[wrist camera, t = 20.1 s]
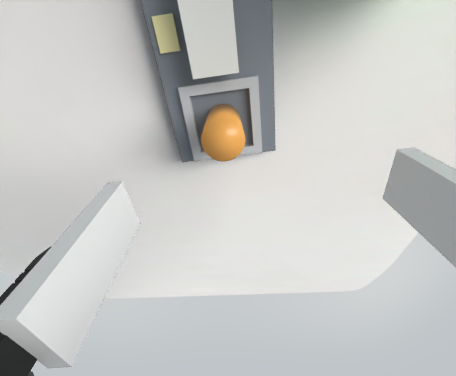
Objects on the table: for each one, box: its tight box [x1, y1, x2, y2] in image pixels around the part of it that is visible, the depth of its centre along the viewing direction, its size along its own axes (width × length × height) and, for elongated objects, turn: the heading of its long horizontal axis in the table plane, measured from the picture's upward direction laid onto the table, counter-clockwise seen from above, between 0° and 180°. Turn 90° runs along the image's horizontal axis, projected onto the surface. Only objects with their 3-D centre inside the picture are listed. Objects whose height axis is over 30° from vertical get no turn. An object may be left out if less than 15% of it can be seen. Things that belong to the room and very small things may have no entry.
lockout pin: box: [201, 104, 245, 161], centre depth 23 cm, size 4×4×7 cm
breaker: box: [177, 0, 239, 79], centre depth 19 cm, size 8×4×2 cm, turn 7°
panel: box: [141, 0, 275, 162], centre depth 22 cm, size 26×12×3 cm, turn 7°
